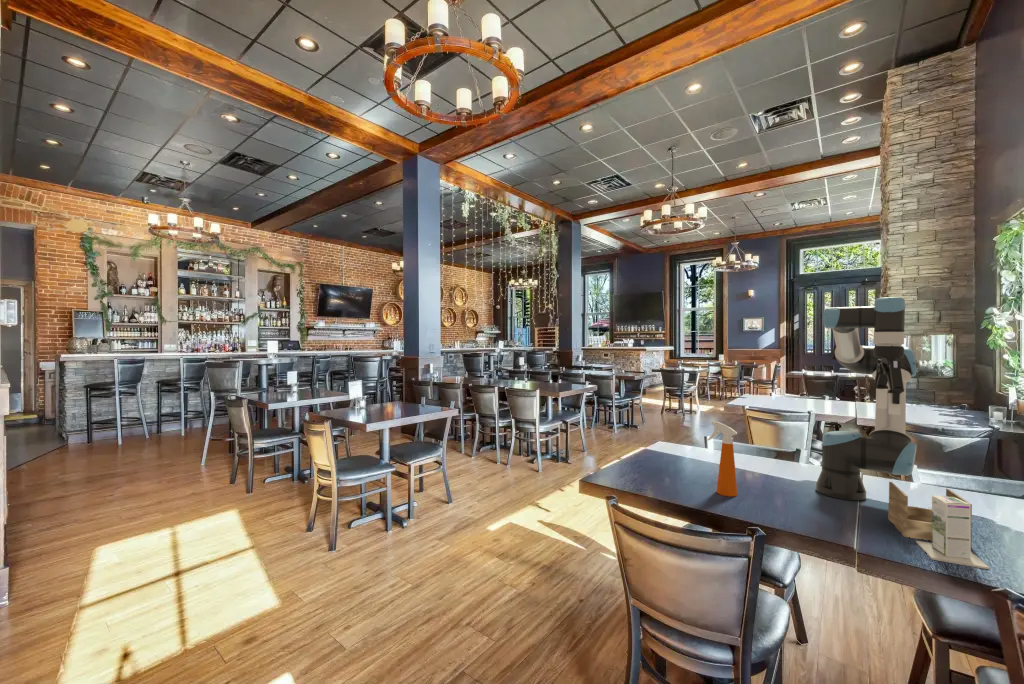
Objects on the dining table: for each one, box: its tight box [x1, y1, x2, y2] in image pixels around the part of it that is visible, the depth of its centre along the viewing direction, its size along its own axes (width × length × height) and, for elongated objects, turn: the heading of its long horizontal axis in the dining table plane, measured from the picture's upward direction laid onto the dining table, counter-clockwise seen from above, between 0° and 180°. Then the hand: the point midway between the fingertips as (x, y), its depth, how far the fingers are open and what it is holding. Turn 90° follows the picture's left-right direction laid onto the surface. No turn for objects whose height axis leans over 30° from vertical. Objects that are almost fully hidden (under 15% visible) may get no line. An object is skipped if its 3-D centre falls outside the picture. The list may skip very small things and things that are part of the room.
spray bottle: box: [706, 420, 738, 498], centre depth 166 cm, size 7×11×26 cm, turn 51°
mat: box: [915, 540, 990, 570], centre depth 119 cm, size 11×11×1 cm
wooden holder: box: [887, 481, 973, 549], centre depth 133 cm, size 15×15×12 cm
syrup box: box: [931, 495, 972, 559], centre depth 119 cm, size 6×6×14 cm
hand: (887, 411), depth 143 cm, fingers open, 13 cm apart
